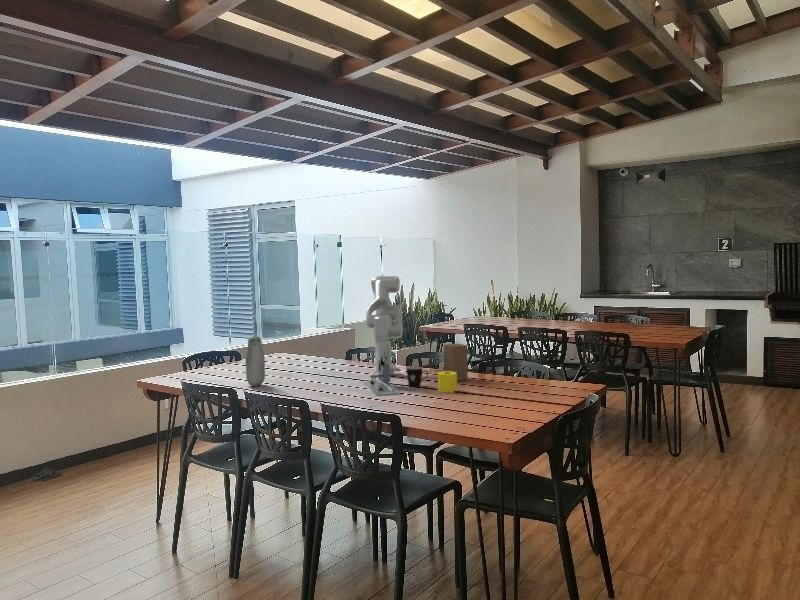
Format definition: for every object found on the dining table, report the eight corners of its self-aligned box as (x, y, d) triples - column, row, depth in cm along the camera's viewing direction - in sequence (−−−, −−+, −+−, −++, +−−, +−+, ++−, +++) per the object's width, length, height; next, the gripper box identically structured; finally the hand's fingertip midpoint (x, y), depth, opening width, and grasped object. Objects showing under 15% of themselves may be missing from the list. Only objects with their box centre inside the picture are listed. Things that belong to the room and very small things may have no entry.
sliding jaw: (387, 380, 335) (387, 364, 335) (390, 382, 331) (389, 365, 330) (372, 382, 333) (371, 365, 332) (374, 383, 328) (373, 366, 327)
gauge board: (384, 382, 345) (384, 372, 344) (399, 393, 316) (398, 382, 316) (363, 384, 342) (363, 373, 341) (376, 395, 313) (376, 384, 312)
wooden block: (467, 380, 348) (467, 345, 347) (452, 381, 344) (452, 346, 342) (458, 377, 357) (458, 343, 356) (444, 378, 353) (443, 344, 351)
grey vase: (260, 387, 338) (259, 337, 336) (243, 387, 340) (241, 337, 338) (268, 384, 347) (266, 335, 345) (251, 383, 349) (249, 335, 348)
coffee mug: (403, 386, 334) (403, 368, 334) (413, 383, 341) (413, 366, 340) (419, 389, 326) (419, 370, 326) (429, 386, 333) (429, 368, 332)
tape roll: (436, 389, 326) (436, 371, 325) (455, 388, 327) (454, 371, 326) (439, 393, 316) (439, 375, 315) (458, 392, 317) (458, 374, 316)
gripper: (371, 337, 344) (372, 369, 345) (378, 340, 330) (378, 374, 331) (384, 336, 346) (385, 368, 347) (391, 339, 332) (392, 373, 333)
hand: (382, 371), depth 339 cm, fingers closed
